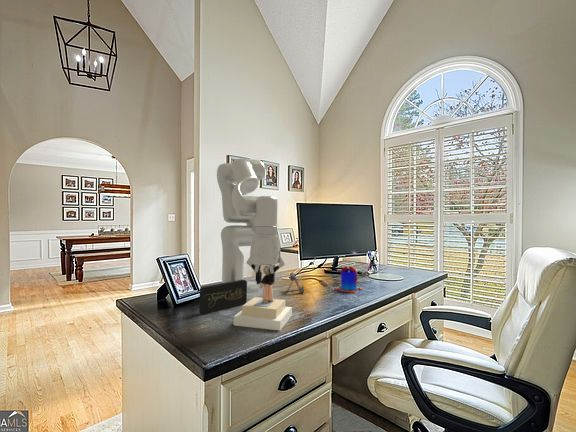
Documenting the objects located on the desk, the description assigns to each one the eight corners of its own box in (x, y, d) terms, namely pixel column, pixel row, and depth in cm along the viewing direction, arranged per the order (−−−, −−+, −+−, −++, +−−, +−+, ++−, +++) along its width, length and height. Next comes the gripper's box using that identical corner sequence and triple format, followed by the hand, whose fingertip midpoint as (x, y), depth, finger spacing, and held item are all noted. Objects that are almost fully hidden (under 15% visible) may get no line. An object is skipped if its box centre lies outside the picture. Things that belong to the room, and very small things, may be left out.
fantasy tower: (332, 289, 157) (332, 266, 157) (344, 286, 166) (344, 263, 166) (353, 294, 150) (353, 269, 149) (364, 290, 158) (365, 266, 158)
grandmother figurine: (267, 304, 107) (267, 267, 107) (257, 303, 108) (257, 266, 109) (278, 299, 114) (278, 264, 114) (268, 298, 115) (268, 263, 115)
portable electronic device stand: (303, 294, 148) (304, 276, 148) (287, 293, 148) (287, 275, 148) (303, 289, 156) (303, 273, 156) (287, 289, 157) (287, 272, 156)
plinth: (233, 325, 104) (233, 306, 104) (250, 311, 119) (251, 294, 119) (280, 330, 100) (280, 311, 100) (291, 315, 116) (292, 298, 116)
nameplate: (202, 315, 114) (202, 287, 114) (199, 314, 115) (199, 286, 115) (246, 304, 129) (247, 279, 129) (243, 303, 131) (244, 279, 130)
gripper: (239, 231, 108) (238, 284, 108) (286, 232, 104) (285, 288, 104) (247, 230, 115) (246, 280, 115) (291, 231, 111) (290, 283, 111)
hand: (265, 283), depth 110 cm, fingers open, 3 cm apart
